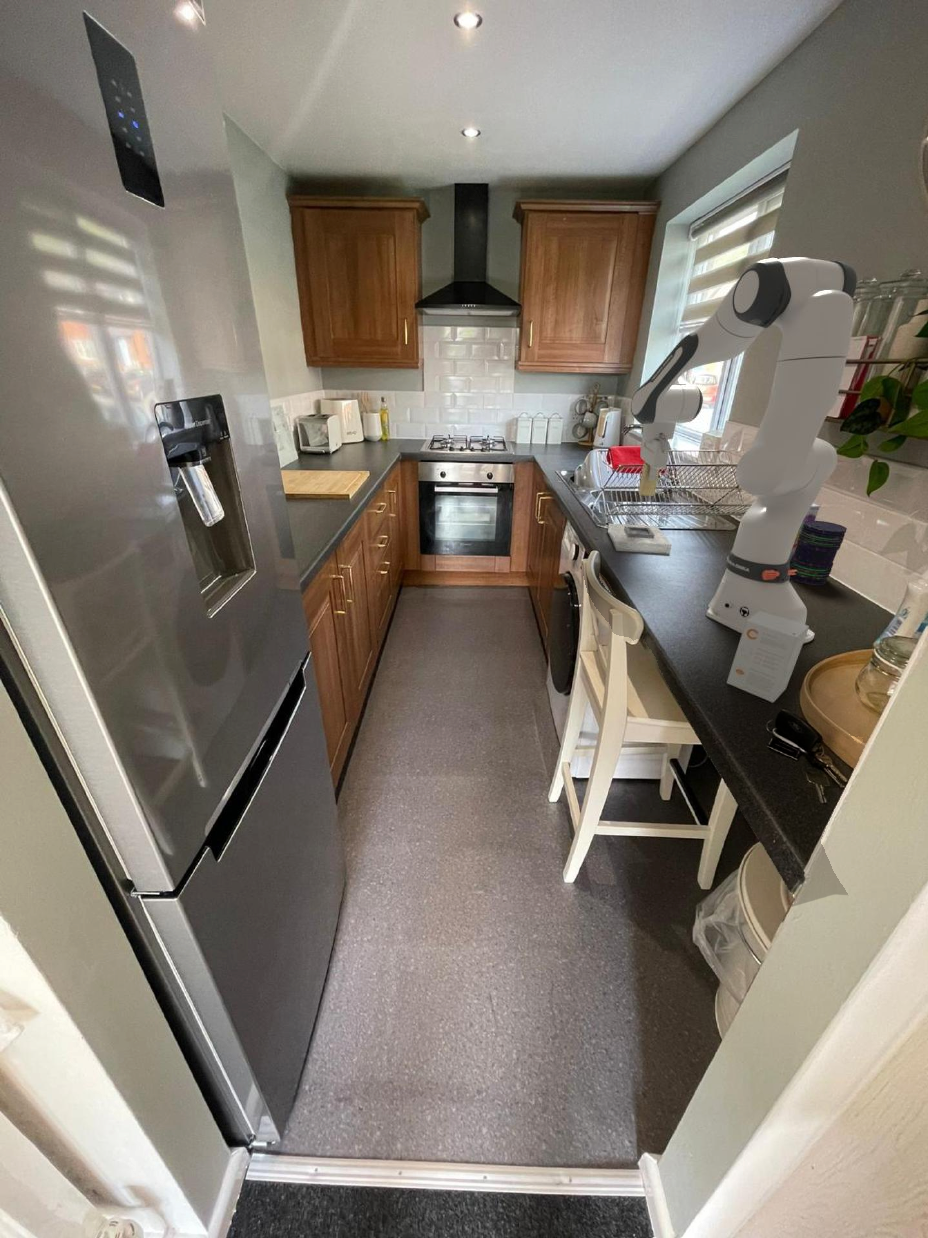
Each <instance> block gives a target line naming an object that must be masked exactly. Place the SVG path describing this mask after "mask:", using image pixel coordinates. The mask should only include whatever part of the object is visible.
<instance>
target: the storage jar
mask: <svg viewBox="0 0 928 1238" xmlns="http://www.w3.org/2000/svg"><path fill="white" fill-rule="evenodd" d="M847 530H848V528H847V527H845V526H844V525H841V524H838V523H833V522H829V521H825V520H824V521H823V520H815V521H805V522H804V524H803V527H802V529H801V531H800V534H799V538H798V541H797V543H798V544H797V547H796V550H795V552H794V555H793V556H792V558H791V561H790V563H789V564H790V570H797V571H796V572H792V573H795V574H796V575H790V579H791V580H793V581H795V582H798V583H802V584H805V585H815V586H816V585H817V586H820V585H825V584H826V583H827V581H828V580H827V579H828V578H829V576H830V575H831V572H832V568H833V567H834V566H833V565H834V560H835V558H836V555H837V553H838V551H840V548H841V545H842V544H843V541H844V537H845V535H846V534H845V533H846V532H847ZM790 579H789V580H790Z"/></svg>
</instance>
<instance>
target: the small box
mask: <svg viewBox="0 0 928 1238" xmlns="http://www.w3.org/2000/svg"><path fill="white" fill-rule="evenodd" d="M809 627H810V626H809V625H807V624H805V625H804V624H801V623H797V622H794V621H791V620H788V619H785V618H782V617H778V616H775V615H772V614H769V613H766V612H763V611H759V612H757V613H756V614H755V615H753V616H752V617H750V618H749V619H747V620H746V623H745V626H744V629H743V633H741V636H740V638H739V643H738V645H737V649H736V650H735V651H736V652H735V655H734V657H733V661H732V664H731V667H730V671H729V673H728V677H727V681H726V684H728V685H730V686H733V687H735V688H737V689H740V690H741V691H742V690H743V691H745V692H746V693H749V694H751V695H753V696H757V697H759V698H761V699H764V700H766V701H768V702H770V703H774V702H776V700H777V699H778V698H779V697H780V696H781V695H782V694H783V692H785V691H786V689H787V687H788V684H789V681H790V679H791V676H792V674H793V671H794V669H795V666H796V663H797V660H798V657H799V656H800V653H801V650H802V648H803V645H804V643H803V642H804V640H805V637H806V634H807V631H808V629H809V630H810V628H809Z"/></svg>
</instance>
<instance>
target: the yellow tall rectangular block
mask: <svg viewBox="0 0 928 1238" xmlns="http://www.w3.org/2000/svg"><path fill="white" fill-rule="evenodd" d="M641 471H642V472H641V475H640V481H639V486H638V491H637V492H638V493H639V495H640V496H647V497H648V496H650V497H653V496H655V491H656V488H657V483H658V477H659V473H660V469H658V472H657V474H656V476H655V480H654V481H649V480H648V474H649V473H650V465H649V464H647V463H645V462H643V466H642V470H641Z"/></svg>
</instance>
